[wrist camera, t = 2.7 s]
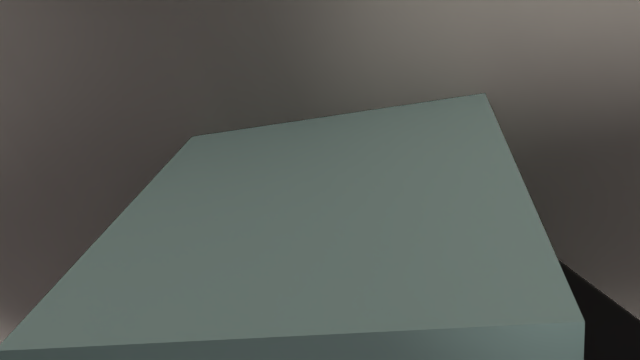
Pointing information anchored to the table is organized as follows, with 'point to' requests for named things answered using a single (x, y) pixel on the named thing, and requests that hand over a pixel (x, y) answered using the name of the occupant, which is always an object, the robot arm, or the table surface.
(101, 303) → the sage cube
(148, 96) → the table surface
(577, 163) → the table surface
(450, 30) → the table surface
